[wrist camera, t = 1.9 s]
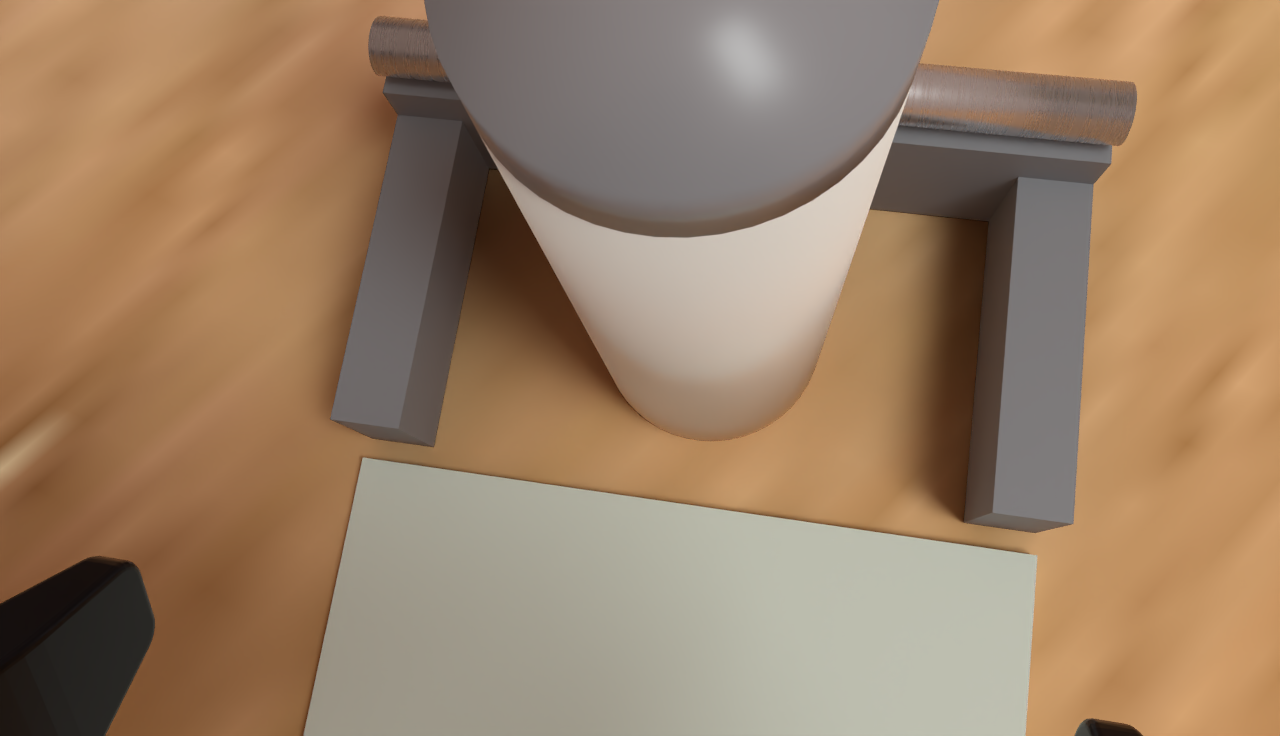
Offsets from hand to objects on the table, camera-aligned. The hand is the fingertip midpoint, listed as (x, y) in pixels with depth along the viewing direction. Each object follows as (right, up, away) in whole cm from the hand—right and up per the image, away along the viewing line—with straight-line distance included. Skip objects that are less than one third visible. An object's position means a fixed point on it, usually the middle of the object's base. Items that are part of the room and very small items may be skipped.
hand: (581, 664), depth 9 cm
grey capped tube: (+2, +4, +14) cm, 14 cm away
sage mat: (+1, -6, +12) cm, 13 cm away
